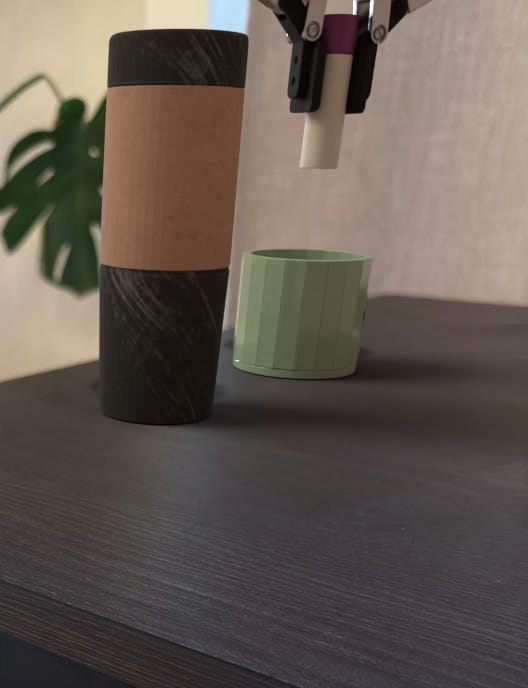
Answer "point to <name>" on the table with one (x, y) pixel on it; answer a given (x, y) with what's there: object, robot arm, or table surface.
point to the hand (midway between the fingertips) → (326, 110)
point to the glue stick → (331, 94)
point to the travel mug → (167, 219)
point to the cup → (301, 312)
